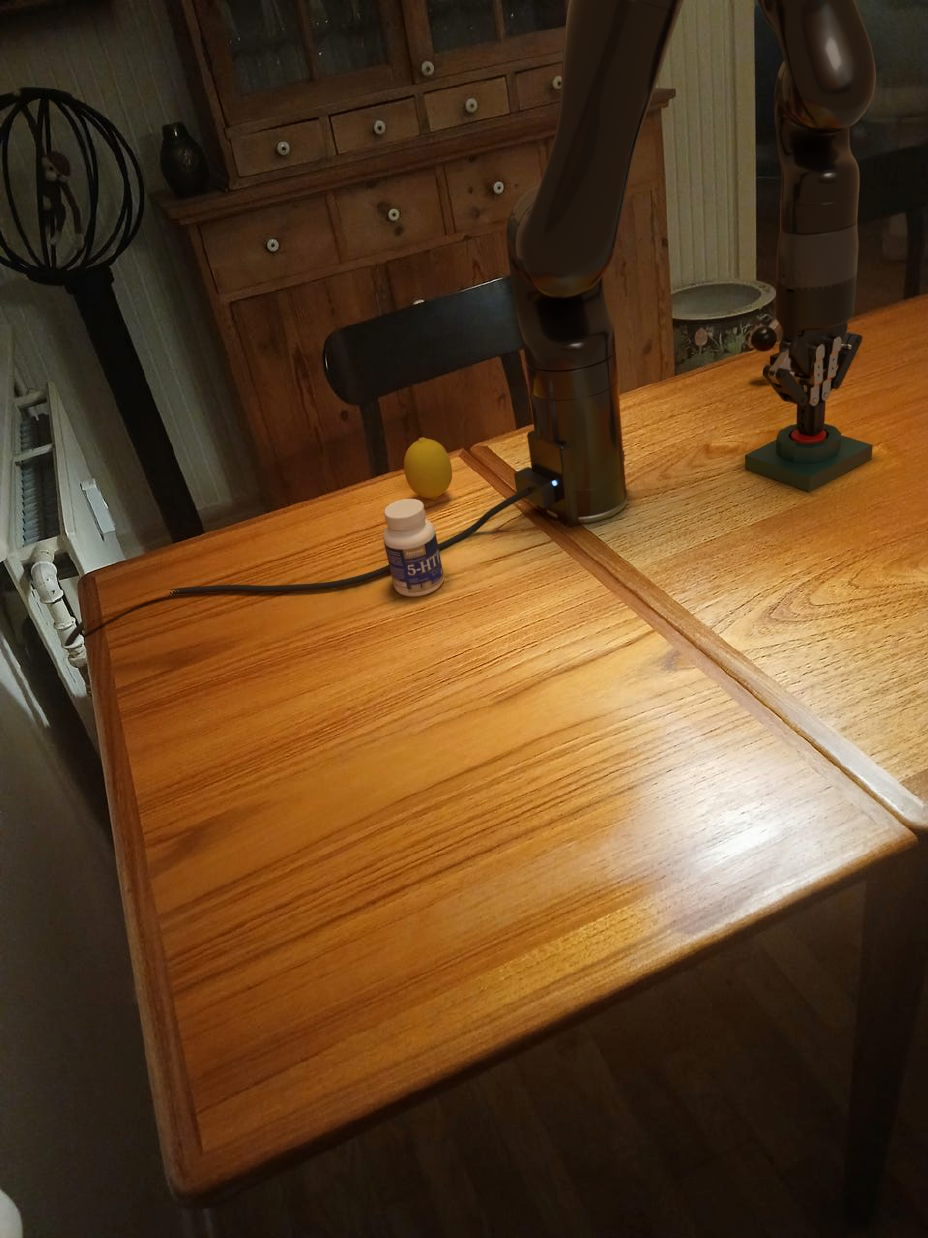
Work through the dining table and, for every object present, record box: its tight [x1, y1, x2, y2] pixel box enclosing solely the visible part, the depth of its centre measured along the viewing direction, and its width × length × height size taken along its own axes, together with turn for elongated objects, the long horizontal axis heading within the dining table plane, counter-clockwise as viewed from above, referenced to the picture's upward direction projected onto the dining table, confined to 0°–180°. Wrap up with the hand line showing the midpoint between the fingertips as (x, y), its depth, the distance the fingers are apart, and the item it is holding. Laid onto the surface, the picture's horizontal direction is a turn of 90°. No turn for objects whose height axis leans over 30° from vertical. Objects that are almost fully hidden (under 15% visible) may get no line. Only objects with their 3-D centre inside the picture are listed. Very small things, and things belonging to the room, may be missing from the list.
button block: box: [744, 422, 874, 493], centre depth 105 cm, size 10×9×4 cm
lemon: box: [403, 437, 453, 501], centre depth 111 cm, size 6×6×8 cm
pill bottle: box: [382, 498, 445, 597], centre depth 96 cm, size 5×5×9 cm
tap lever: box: [750, 318, 782, 353], centre depth 124 cm, size 13×3×3 cm, turn 123°
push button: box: [791, 429, 826, 443], centre depth 104 cm, size 4×4×2 cm
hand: (809, 432), depth 104 cm, fingers closed
